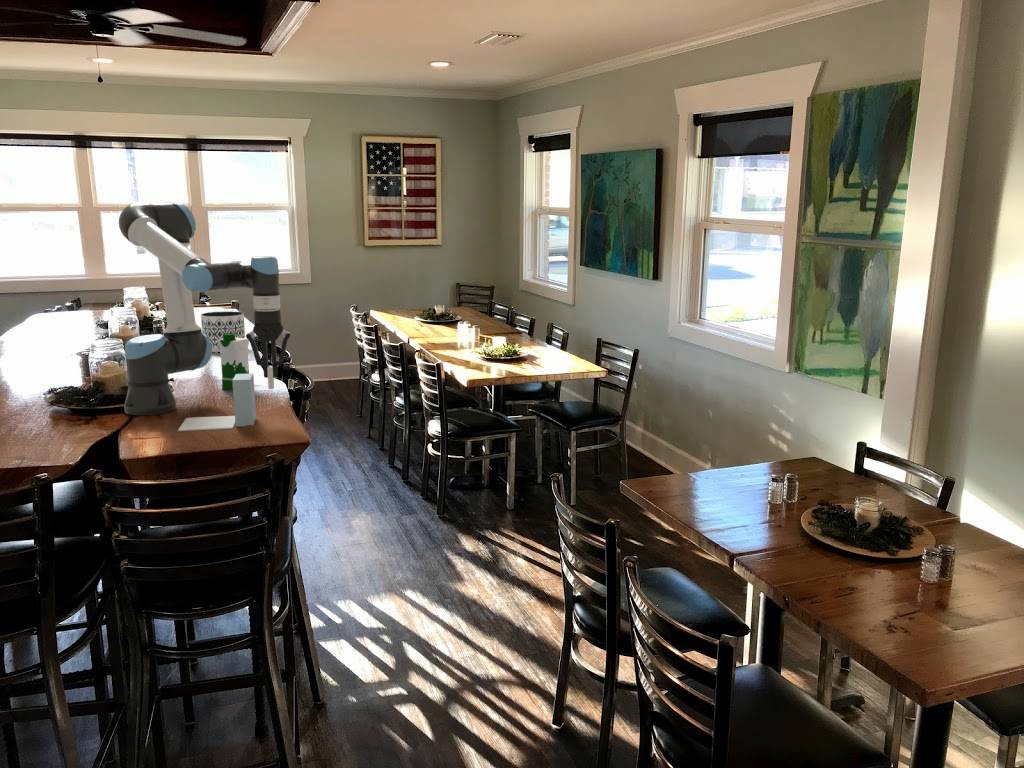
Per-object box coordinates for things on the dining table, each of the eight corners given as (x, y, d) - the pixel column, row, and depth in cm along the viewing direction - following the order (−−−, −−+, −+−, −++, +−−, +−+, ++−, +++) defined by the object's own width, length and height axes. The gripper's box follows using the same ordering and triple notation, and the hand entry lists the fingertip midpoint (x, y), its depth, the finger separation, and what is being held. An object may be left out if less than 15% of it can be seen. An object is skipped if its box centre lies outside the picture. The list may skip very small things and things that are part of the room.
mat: (177, 431, 231) (177, 429, 231) (186, 419, 245) (186, 417, 245) (232, 428, 235) (232, 427, 234) (238, 416, 248) (238, 415, 248)
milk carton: (218, 390, 284) (214, 334, 280) (236, 385, 292) (233, 330, 288) (237, 392, 280) (233, 335, 276) (255, 387, 288) (252, 332, 284)
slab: (235, 426, 237) (232, 380, 234) (239, 418, 246) (236, 374, 243) (253, 425, 238) (250, 379, 235) (256, 418, 247) (253, 373, 244)
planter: (237, 353, 356) (235, 316, 353) (197, 353, 356) (194, 316, 353) (251, 346, 374) (249, 311, 370) (212, 346, 374) (209, 311, 371)
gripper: (242, 311, 231) (247, 391, 236) (289, 310, 234) (293, 389, 239) (245, 308, 239) (249, 386, 244) (290, 307, 241) (294, 384, 246)
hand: (271, 387), depth 241 cm, fingers closed
